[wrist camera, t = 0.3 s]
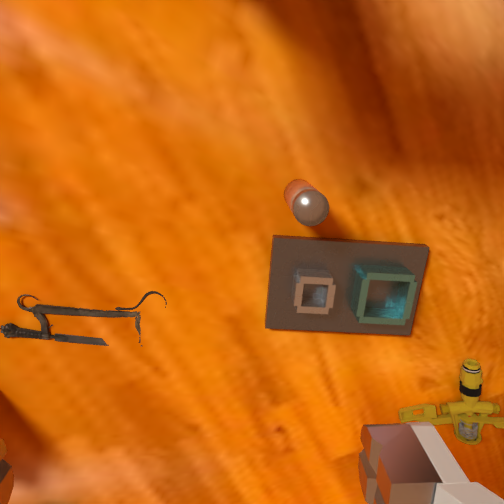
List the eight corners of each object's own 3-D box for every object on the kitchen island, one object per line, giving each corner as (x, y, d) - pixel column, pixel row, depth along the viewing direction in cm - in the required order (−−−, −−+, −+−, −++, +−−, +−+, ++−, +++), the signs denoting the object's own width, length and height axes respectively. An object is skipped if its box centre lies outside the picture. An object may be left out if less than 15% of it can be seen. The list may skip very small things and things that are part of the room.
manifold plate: (272, 234, 55) (275, 244, 51) (424, 244, 56) (439, 254, 52) (264, 323, 59) (266, 338, 55) (405, 330, 60) (418, 346, 56)
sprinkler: (536, 367, 58) (527, 449, 62) (521, 353, 62) (513, 431, 66) (401, 372, 61) (401, 450, 65) (394, 358, 65) (395, 432, 69)
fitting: (285, 178, 53) (295, 190, 43) (314, 180, 53) (331, 192, 43) (282, 207, 54) (291, 225, 44) (311, 209, 54) (326, 227, 44)
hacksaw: (3, 333, 59) (-3, 338, 58) (0, 270, 56) (-6, 274, 54) (163, 351, 61) (161, 357, 59) (168, 291, 58) (167, 295, 56)
